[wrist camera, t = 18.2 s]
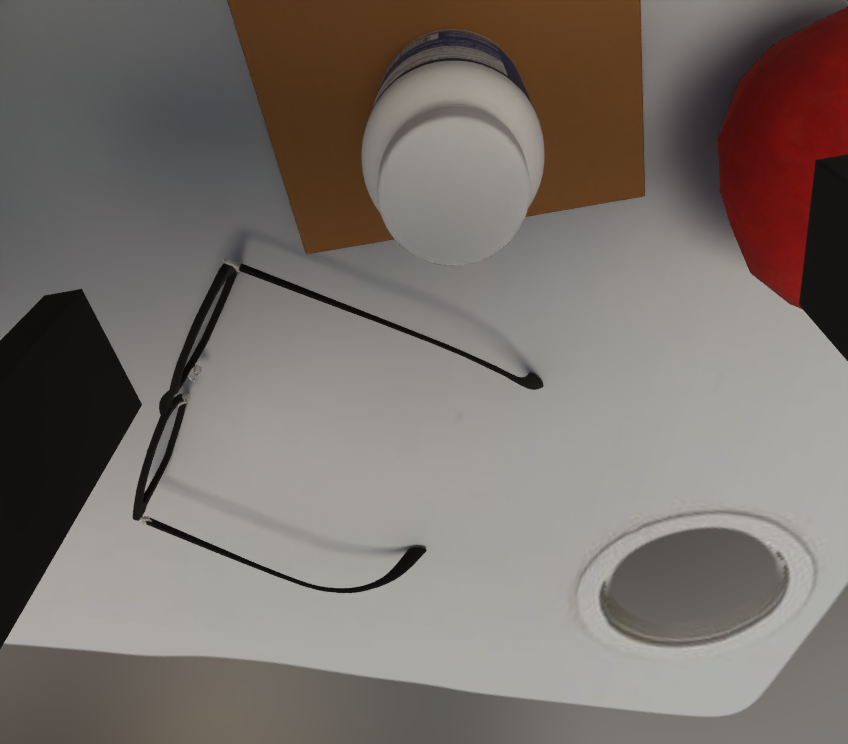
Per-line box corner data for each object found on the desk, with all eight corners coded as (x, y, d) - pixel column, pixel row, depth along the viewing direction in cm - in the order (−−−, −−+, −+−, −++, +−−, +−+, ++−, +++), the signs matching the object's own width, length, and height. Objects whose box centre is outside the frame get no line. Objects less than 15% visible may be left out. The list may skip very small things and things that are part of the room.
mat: (307, 250, 30) (305, 254, 30) (227, -10, 25) (224, -9, 24) (642, 193, 28) (645, 196, 28) (635, -102, 23) (638, -102, 23)
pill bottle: (513, 182, 28) (539, 299, 20) (376, 171, 28) (346, 283, 20) (535, 32, 25) (577, 97, 17) (382, 18, 25) (350, 78, 17)
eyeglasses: (234, 209, 29) (207, 249, 26) (563, 354, 33) (576, 405, 29) (144, 475, 38) (114, 531, 34) (413, 568, 41) (409, 627, 38)
